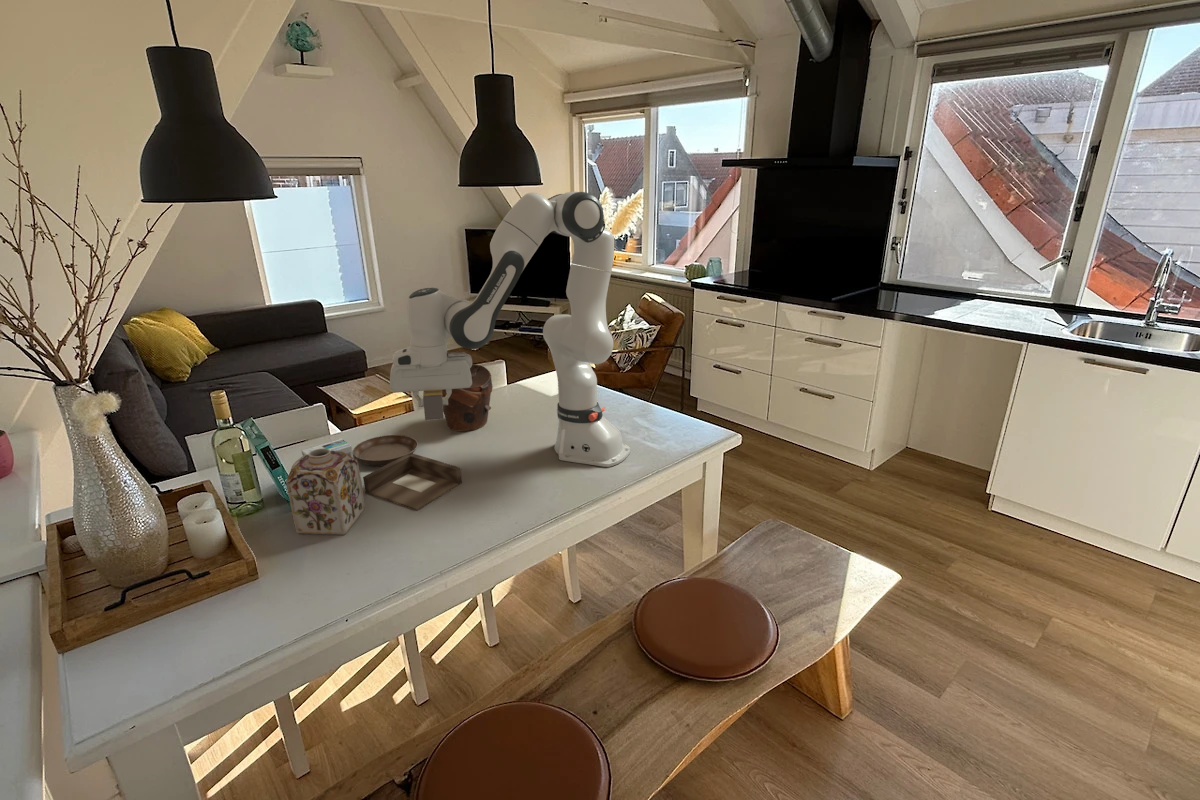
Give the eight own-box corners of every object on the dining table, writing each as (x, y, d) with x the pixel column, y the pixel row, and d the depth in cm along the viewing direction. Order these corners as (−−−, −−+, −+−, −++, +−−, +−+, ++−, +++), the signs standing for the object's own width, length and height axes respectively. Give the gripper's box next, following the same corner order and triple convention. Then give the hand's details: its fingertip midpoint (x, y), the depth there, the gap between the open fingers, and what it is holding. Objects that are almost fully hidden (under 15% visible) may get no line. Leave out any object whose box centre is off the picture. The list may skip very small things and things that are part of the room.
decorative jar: (294, 534, 136) (279, 463, 129) (319, 507, 147) (306, 440, 140) (346, 536, 135) (333, 464, 129) (367, 508, 146) (357, 441, 140)
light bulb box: (348, 473, 163) (341, 437, 159) (358, 481, 159) (352, 444, 155) (307, 486, 156) (300, 449, 152) (317, 496, 152) (310, 457, 148)
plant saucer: (386, 439, 185) (385, 430, 183) (431, 450, 177) (430, 440, 176) (340, 462, 170) (338, 452, 169) (387, 475, 162) (386, 465, 161)
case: (437, 439, 184) (433, 383, 177) (438, 415, 202) (434, 364, 196) (496, 434, 188) (494, 380, 181) (492, 411, 206) (489, 361, 200)
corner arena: (461, 482, 158) (460, 467, 156) (417, 510, 145) (415, 494, 143) (412, 467, 166) (410, 452, 165) (365, 492, 153) (362, 477, 152)
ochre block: (443, 406, 161) (441, 385, 159) (443, 418, 152) (441, 396, 150) (425, 407, 160) (423, 386, 157) (425, 420, 151) (423, 397, 149)
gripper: (470, 348, 156) (473, 398, 161) (387, 352, 151) (393, 404, 156) (472, 355, 150) (475, 406, 155) (386, 359, 145) (392, 412, 150)
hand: (433, 405), depth 155 cm, fingers closed on ochre block, 4 cm apart
